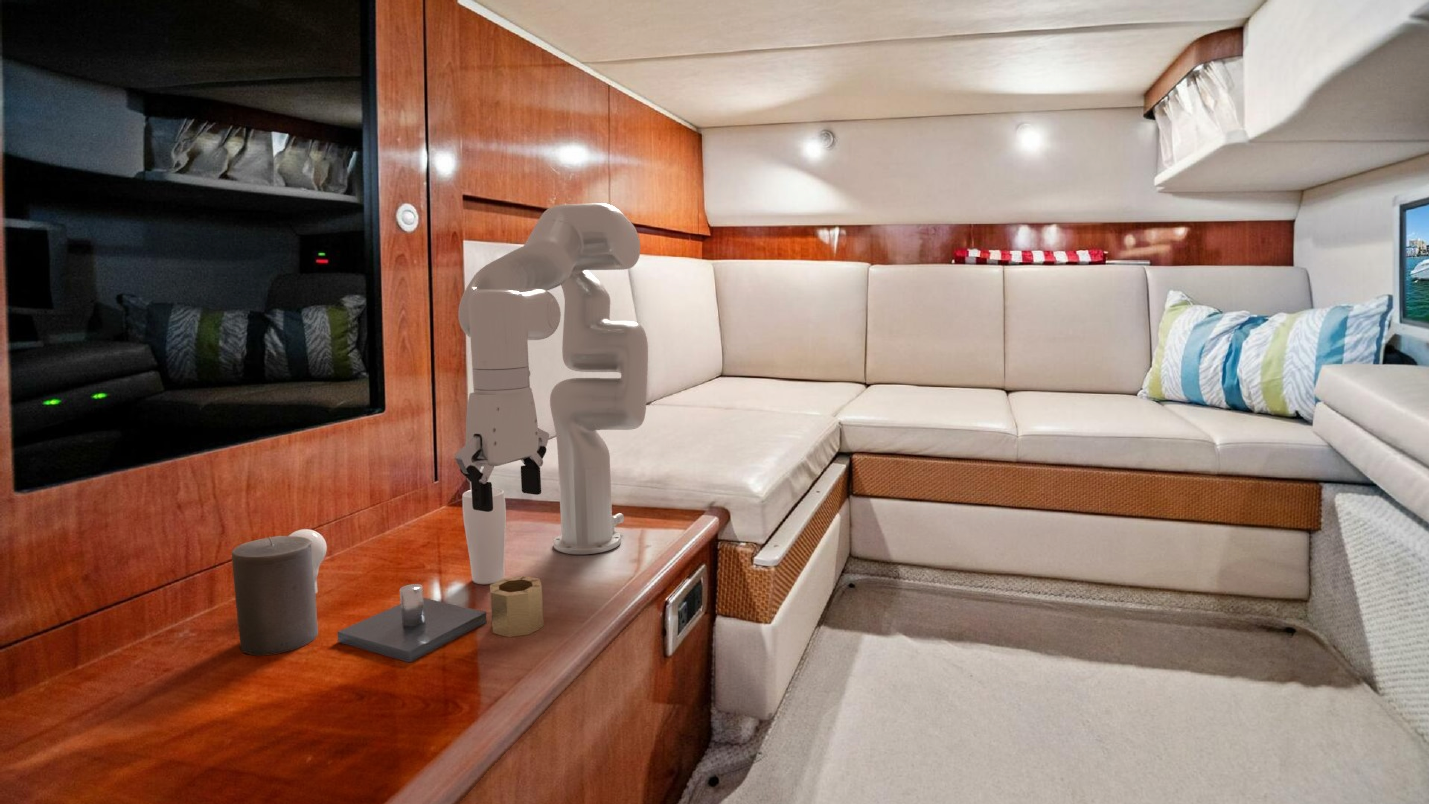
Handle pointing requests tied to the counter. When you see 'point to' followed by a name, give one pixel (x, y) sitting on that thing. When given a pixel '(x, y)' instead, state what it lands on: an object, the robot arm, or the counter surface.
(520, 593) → the hub ring
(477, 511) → the drinking glass
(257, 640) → the pillar candle
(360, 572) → the counter surface
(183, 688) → the counter surface
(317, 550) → the lightbulb
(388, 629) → the shaft block
